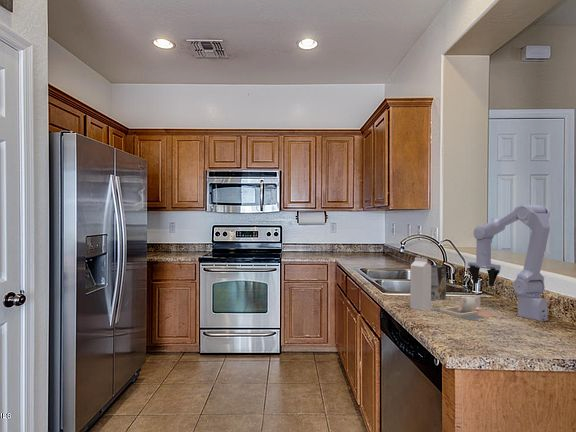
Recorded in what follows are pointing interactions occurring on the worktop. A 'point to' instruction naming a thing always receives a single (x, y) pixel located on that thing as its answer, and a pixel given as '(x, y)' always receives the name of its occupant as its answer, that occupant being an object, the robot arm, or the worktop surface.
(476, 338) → the worktop surface
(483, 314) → the jug holder
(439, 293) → the coffee box
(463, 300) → the jug
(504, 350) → the worktop surface
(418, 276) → the milk
